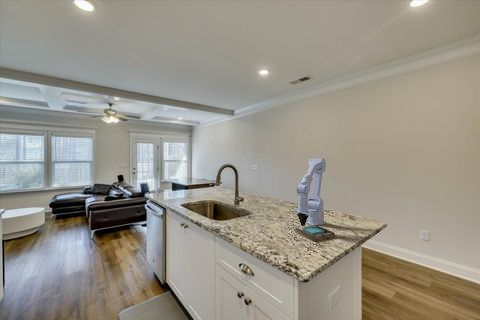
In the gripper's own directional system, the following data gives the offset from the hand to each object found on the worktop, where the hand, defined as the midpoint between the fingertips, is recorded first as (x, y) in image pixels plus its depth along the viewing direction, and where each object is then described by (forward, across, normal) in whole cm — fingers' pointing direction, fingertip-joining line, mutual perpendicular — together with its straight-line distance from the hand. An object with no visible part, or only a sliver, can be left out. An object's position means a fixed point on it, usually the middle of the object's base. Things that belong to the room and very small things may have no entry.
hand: (302, 225), depth 127 cm
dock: (+2, +9, 0) cm, 9 cm away
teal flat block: (+2, +9, 0) cm, 10 cm away
